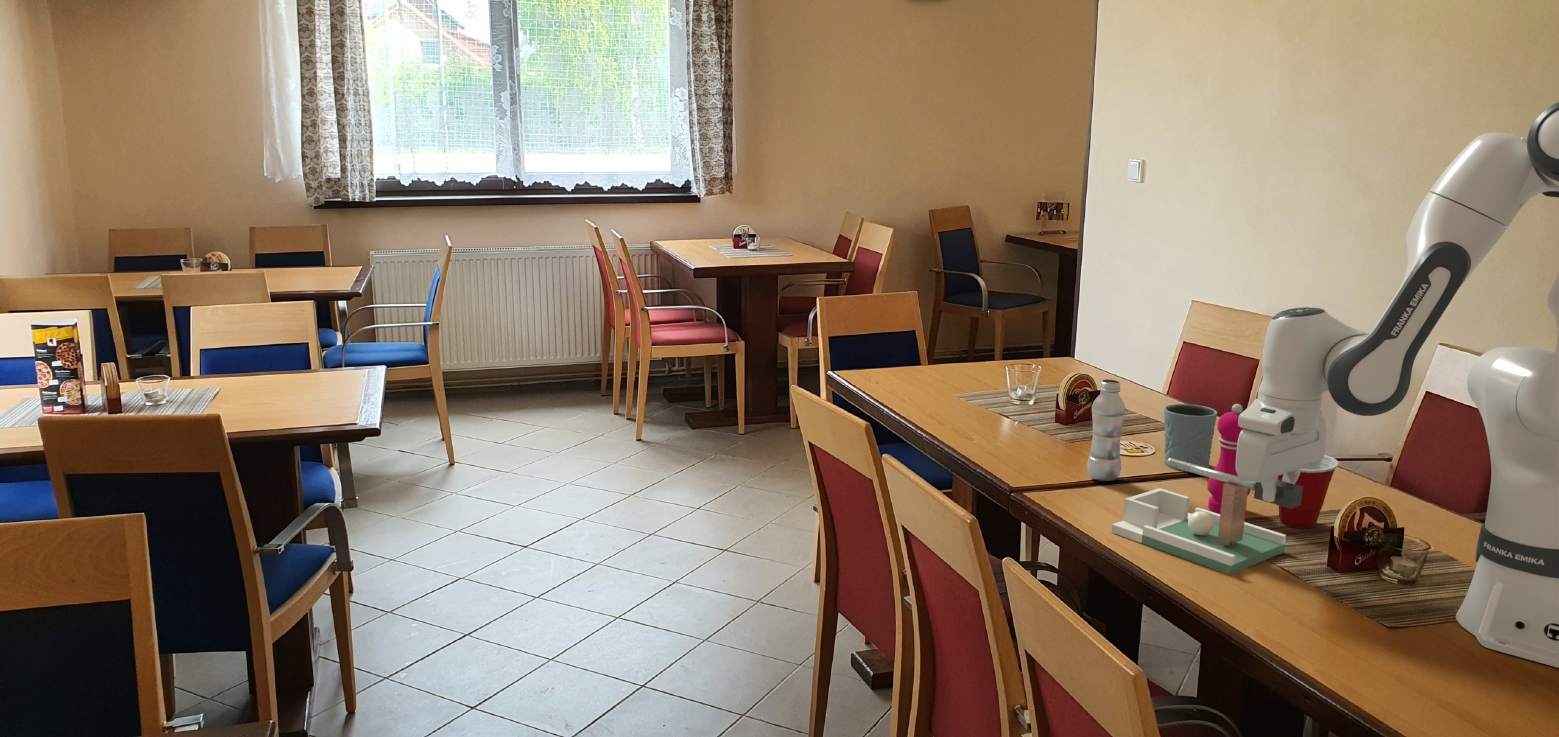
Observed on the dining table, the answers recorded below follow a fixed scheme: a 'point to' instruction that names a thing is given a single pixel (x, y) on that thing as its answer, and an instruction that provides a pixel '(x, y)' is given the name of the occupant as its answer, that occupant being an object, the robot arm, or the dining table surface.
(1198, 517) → the ball
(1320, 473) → the plastic cup
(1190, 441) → the grey textured cup
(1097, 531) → the dining table surface
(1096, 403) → the plastic bottle
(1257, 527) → the pitch
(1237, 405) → the pepper mill
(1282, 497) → the kicker rod
